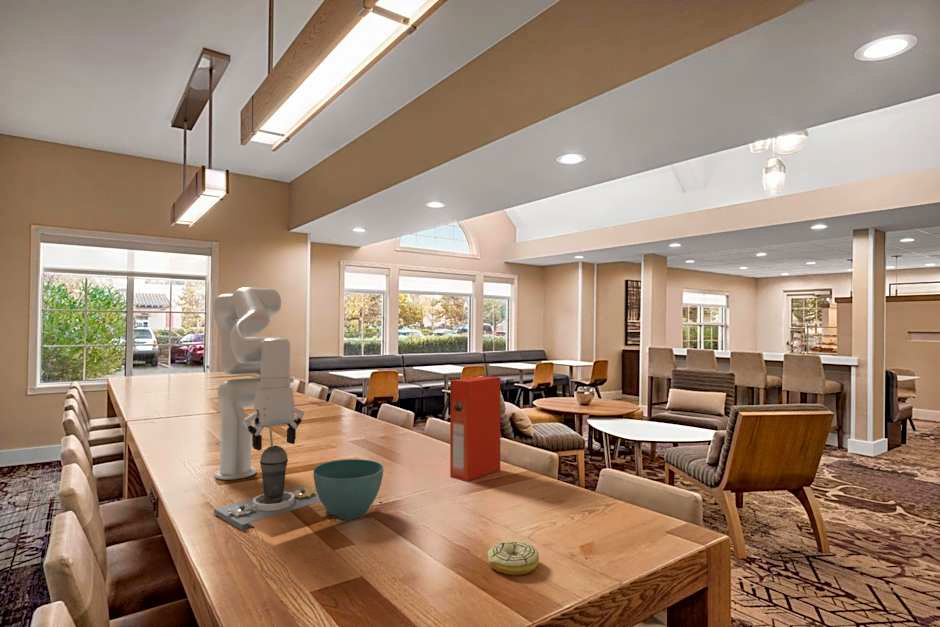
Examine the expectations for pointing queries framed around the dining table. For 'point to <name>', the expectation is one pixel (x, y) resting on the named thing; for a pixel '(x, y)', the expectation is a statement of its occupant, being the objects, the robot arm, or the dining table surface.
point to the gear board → (261, 514)
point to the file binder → (474, 427)
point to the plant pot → (348, 486)
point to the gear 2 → (303, 494)
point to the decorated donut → (513, 558)
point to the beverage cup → (273, 473)
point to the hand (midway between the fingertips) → (274, 446)
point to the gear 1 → (241, 511)
